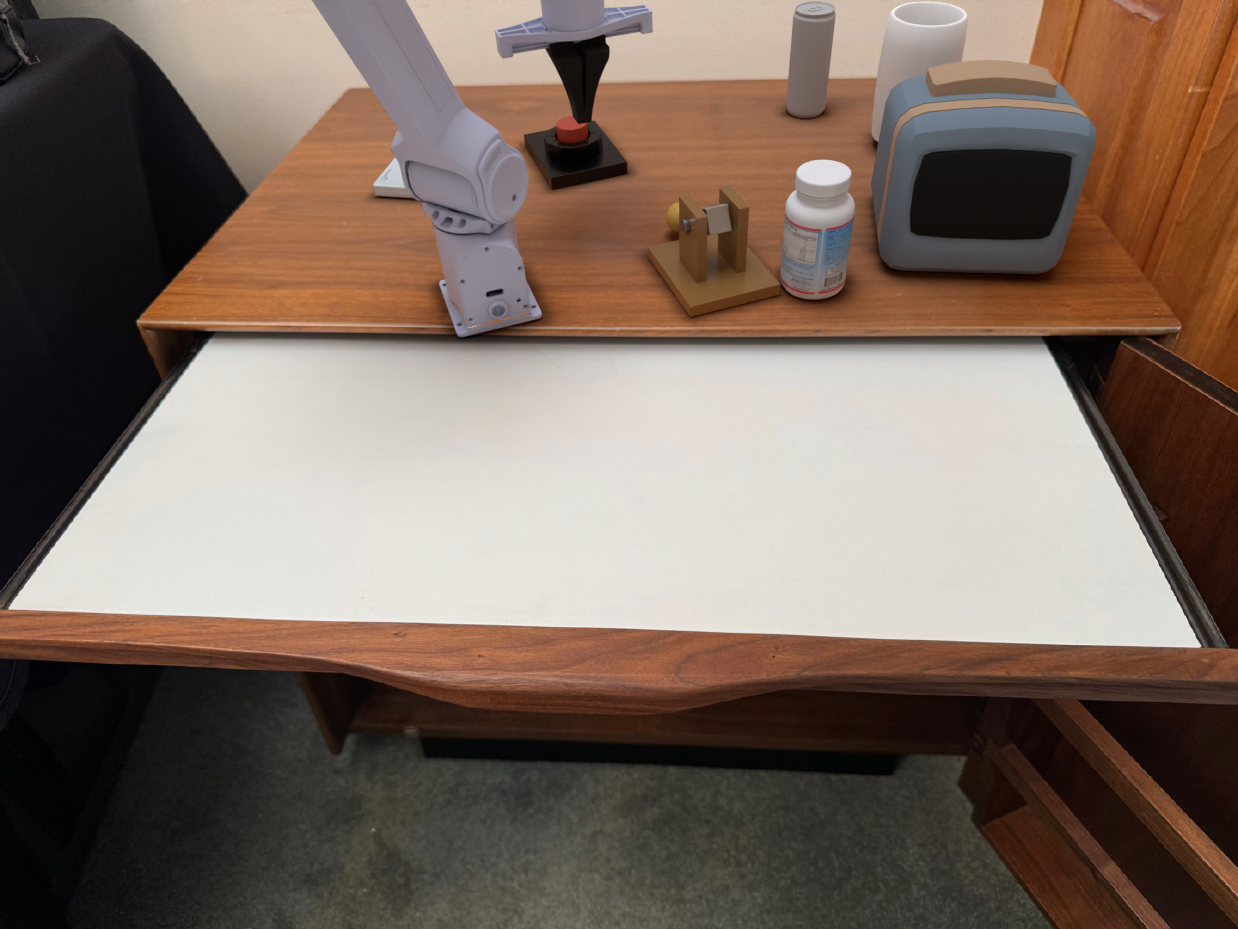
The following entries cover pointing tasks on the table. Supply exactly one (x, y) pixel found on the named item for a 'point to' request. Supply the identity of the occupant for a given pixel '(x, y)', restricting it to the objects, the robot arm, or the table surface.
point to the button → (571, 130)
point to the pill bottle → (817, 230)
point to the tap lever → (716, 218)
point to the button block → (575, 157)
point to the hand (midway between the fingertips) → (582, 119)
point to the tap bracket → (713, 260)
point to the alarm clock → (979, 169)
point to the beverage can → (810, 58)
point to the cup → (917, 47)
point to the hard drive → (391, 182)
